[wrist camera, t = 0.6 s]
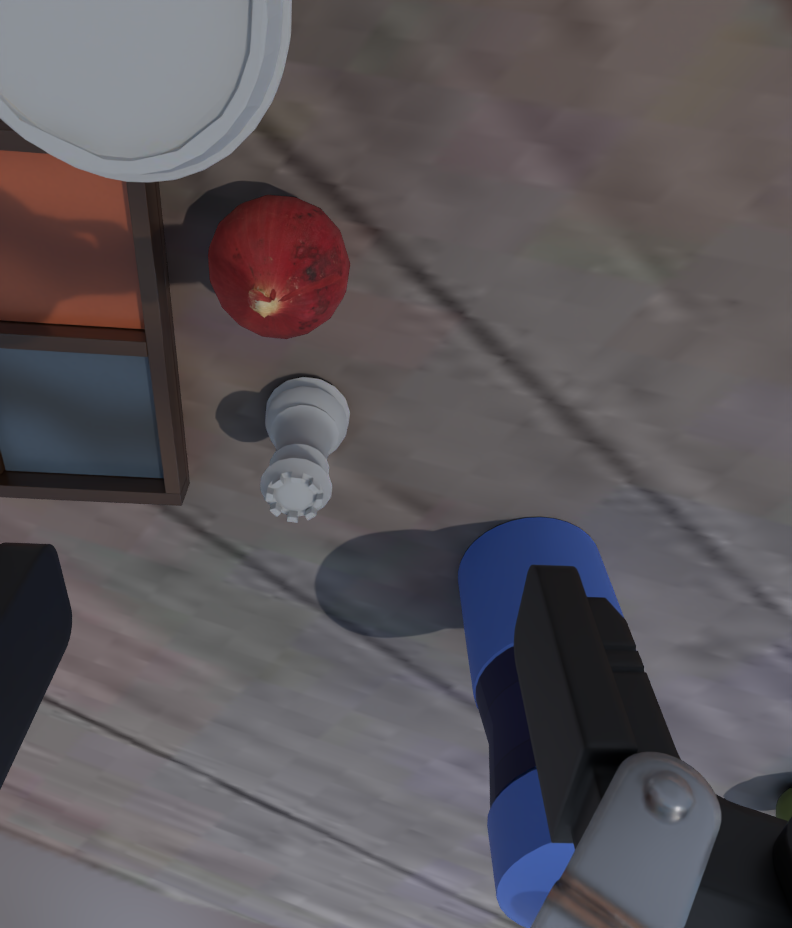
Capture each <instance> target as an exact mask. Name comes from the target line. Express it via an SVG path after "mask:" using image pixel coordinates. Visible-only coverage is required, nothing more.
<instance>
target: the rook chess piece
mask: <svg viewBox="0 0 792 928" xmlns="http://www.w3.org/2000/svg"><path fill="white" fill-rule="evenodd" d="M349 417H350V411H349V408H348V405H347V402H346V399H345V398H344V396H343V395H342V394H341V393H340V392H339V391H338V390H337V388H336V387H334V386H332V385H330V384H329V383H327V382H325V381H323V380H321V379H315V378H307V377H301V378H296V379H292V380H288V381H286V382H284V383H283V384H281V385H280V386H279V387H277V388H276V389H274V391H273V392H272V394H271V396H270V398H269V399H268V401H267V407H266V418H265V426H266V430H267V432H268V435H269V437H270V440H271V442H272V443H273V444H274V445H275V447H276V452H275V453H274V455H273V457H272V458H271V460H270V466H269V467H268V468H267V469H266V471H265V472H264V474H263V476H262V477H261V487H260V489H261V492H262V494H263V496H264V499H265V500H266V502H268V503H269V504H270V505H271V506H270V511H271V512H272V513H273V514H274V515H275V516H276V517H277V516H279V515H280V514H281V512H282V513H284V514H286V515H288V517H287V522H297V523H298V516H303V515H305V517H306V518H307V520H310V519H311V518H313V517H315V516H316V515H317V511H318V510H320V509H321V508H323V507H324V506H325V505H326V503H327V502H328V501H329V499H330V498H331V493H332V483H331V481H330V478H329V475H328V474H329V465H328V462H327V457H328V455H329V454H331V453H332V452H333V451H335V450H336V449H337V448H338V446H339V445H340V443H341V442H342V441H343V439H344V438H345V436H346V433H347V428H348V424H349Z"/></svg>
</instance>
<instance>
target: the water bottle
mask: <svg viewBox="0 0 792 928" xmlns="http://www.w3.org/2000/svg"><path fill="white" fill-rule="evenodd" d="M531 565H558V566H574V567H575V568H576V569H577V570H578V573H579V575H580V578H581V581H582V584H583V587H584V590H585V593H586V596H587V597H605V598H606V599H607V600H608V601H609V602H610V603H611V604H612V605H613V607H614V608H615V609H616V610H617V611H618V612H619V613H620V614H621V615H622V617H623V618H624V616H623V614H622V611H621V608H620V606H619V603H618V601H617V598H616V595H615V593H614V590H613V587H612V585H611V582H610V580H609V577H608V574H607V572H606V569H605V566H604V564H603V561H602V559H601V556H600V553H599V551H598V549H597V546H596V544H595V543H594V541H593V540H592V539H591V538H590V536H589V535H588V534H586V533H585V532H584V531H583V530H581V529H580V528H579V527H577V526H575V525H572V524H570V523H568V522H565V521H562V520H558V519H554V518H544V517H534V518H523V519H518V520H513V521H510V522H507V523H504V524H501V525H499V526H496V527H495V528H493V529H491V530H489V531H488V532H486V533H484V534H483V535H482V536H481V537H479V538H478V539H477V540H476V541H474V543H473V544H472V545H471V546H470V547H469V548H468V550H467V551H466V552H465V554H464V556H463V558H462V560H461V562H460V566H459V570H458V585H459V592H460V600H461V607H462V615H463V622H464V630H465V637H466V645H467V652H468V659H469V666H470V673H471V680H472V687H473V694H474V699H475V702H476V706H477V708H478V709H479V713H480V716H481V719H482V723H483V726H484V729H485V733H486V736H487V739H488V743H489V769H490V811H489V814H488V825H487V827H488V834H489V842H490V850H491V858H492V865H493V873H494V881H495V888H496V896H497V900H498V903H499V906H500V908H501V909H502V911H503V912H504V913H505V914H506V915H507V916H508V917H509V918H510V919H512V920H513V921H515V922H516V923H517V924H519V925H521V926H524V927H526V928H530V927H531V926H532V924H533V922H534V920H535V918H536V916H537V914H538V912H539V911H540V909H541V907H542V905H543V903H544V901H545V899H546V897H547V896H548V894H549V892H550V890H551V889H552V887H553V885H554V884H555V882H556V881H557V880H559V879H560V877H561V876H562V874H563V872H564V870H565V868H566V867H567V865H568V863H569V861H570V859H571V857H572V855H573V853H574V851H575V848H574V844H573V843H551V838H550V833H549V828H548V823H547V818H546V813H545V808H544V803H543V798H542V793H541V788H540V783H539V778H538V773H537V768H536V763H535V758H534V753H533V748H532V743H531V738H530V733H529V728H528V723H527V719H526V714H525V709H524V704H523V699H522V694H521V689H520V684H519V679H518V674H517V669H516V664H515V657H514V631H515V625H516V620H517V616H518V612H519V607H520V603H521V599H522V594H523V590H524V585H525V581H526V577H527V573H528V570H529V567H530V566H531Z"/></svg>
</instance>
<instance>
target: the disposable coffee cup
mask: <svg viewBox="0 0 792 928" xmlns="http://www.w3.org/2000/svg"><path fill="white" fill-rule="evenodd" d="M291 12H292V0H0V119H1V120H2V121H3V122H5V123H6V124H7V125H8V126H9V127H11V128H12V129H13V130H14V131H16V132H17V133H18V134H19V135H20V136H22V137H23V138H24V139H25V140H27V141H29V142H31V143H32V144H34V145H36V146H38V147H39V148H41V149H43V150H44V151H46V152H47V153H49V154H50V155H52V156H54V157H56V158H58V159H60V160H62V161H64V162H66V163H68V164H69V165H71V166H73V167H75V168H78V169H81V170H84V171H87V172H90V173H93V174H96V175H99V176H102V177H105V178H110V179H115V180H121V181H126V182H158V181H167V180H176V179H179V178H182V177H185V176H188V175H191V174H194V173H197V172H199V171H202V170H205V169H206V168H208V167H210V166H211V165H213V164H215V163H216V162H218V161H220V160H221V159H223V158H225V157H226V156H228V155H230V154H231V153H232V152H233V151H234V150H235V149H236V148H237V147H238V146H239V145H240V144H241V143H242V142H243V141H244V140H245V139H246V138H247V137H248V136H249V135H250V134H251V133H252V132H253V131H254V130H255V129H256V127H257V125H258V124H259V122H260V121H261V119H262V117H263V116H264V114H265V112H266V111H267V109H268V108H269V106H270V104H271V103H272V101H273V99H274V96H275V94H276V92H277V89H278V87H279V84H280V81H281V78H282V75H283V72H284V68H285V63H286V59H287V54H288V49H289V45H290V38H291Z"/></svg>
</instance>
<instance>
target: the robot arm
mask: <svg viewBox="0 0 792 928" xmlns="http://www.w3.org/2000/svg"><path fill="white" fill-rule="evenodd" d="M71 628H72V610H71V606H70V602H69V598H68V594H67V590H66V586H65V582H64V578H63V574H62V570H61V566H60V562H59V558H58V554H57V551H56V549H55V548H54V546H52V545H50V544H30V543H2V544H0V789H1V787H2V785H3V782H4V780H5V778H6V776H7V774H8V772H9V770H10V767H11V765H12V763H13V761H14V759H15V757H16V755H17V752H18V750H19V748H20V746H21V744H22V742H23V740H24V738H25V735H26V733H27V731H28V729H29V727H30V725H31V723H32V720H33V718H34V716H35V714H36V712H37V710H38V708H39V705H40V703H41V701H42V699H43V697H44V695H45V693H46V690H47V688H48V686H49V684H50V682H51V680H52V678H53V675H54V673H55V671H56V669H57V667H58V665H59V663H60V661H61V658H62V656H63V654H64V652H65V650H66V648H67V645H68V642H69V639H70V634H71ZM514 657H515V664H516V669H517V674H518V679H519V684H520V689H521V694H522V699H523V704H524V709H525V714H526V719H527V723H528V728H529V733H530V738H531V743H532V748H533V753H534V758H535V763H536V768H537V773H538V778H539V783H540V788H541V793H542V798H543V803H544V808H545V813H546V818H547V823H548V828H549V833H550V838H551V843H573V844H574V848H575V851H574V853H573V855H572V857H571V859H570V861H569V863H568V865H567V867H566V868H565V870H564V872H563V874H562V876H561V877H560V879H559V880H557V881H556V882H555V884H554V885H553V887H552V889H551V890H550V892H549V894H548V896H547V897H546V899H545V901H544V903H543V905H542V907H541V909H540V911H539V912H538V914H537V916H536V918H535V920H534V922H533V924H532V926H531V927H530V928H792V817H791V818H790V820H789V821H786V820H783V819H780V818H777V817H774V816H771V815H768V814H765V813H762V812H759V811H756V810H753V809H750V808H746V807H743V806H740V805H738V804H735V803H732V802H730V801H728V800H726V799H724V798H722V797H720V796H718V795H716V794H715V793H714V791H713V789H712V787H711V786H710V785H709V783H708V782H707V781H706V779H705V778H704V777H703V776H702V775H701V774H700V773H699V772H698V771H696V770H695V769H694V768H693V767H692V766H690V765H688V764H687V763H685V762H684V761H682V760H681V759H680V757H679V755H678V753H677V750H676V748H675V745H674V743H673V740H672V738H671V735H670V732H669V730H668V727H667V725H666V722H665V720H664V717H663V714H662V712H661V709H660V707H659V704H658V702H657V699H656V696H655V694H654V691H653V689H652V686H651V684H650V681H649V678H648V676H647V673H644V666H643V663H642V660H641V658H640V655H639V653H638V651H636V645H635V642H634V640H633V637H632V635H631V632H630V629H629V627H628V624H627V622H626V620H625V619H624V618H623V617H622V615H621V614H620V613H619V612H618V611H617V610H616V609H615V608H614V607H613V605H612V604H611V603H610V602H609V601H608V600H607V599H606V598H605V597H587V596H586V593H585V590H584V587H583V584H582V581H581V578H580V575H579V573H578V570H577V569H576V568H575V567H574V566H558V565H531V566H530V567H529V570H528V573H527V577H526V581H525V585H524V590H523V594H522V599H521V603H520V607H519V612H518V616H517V620H516V625H515V631H514Z"/></svg>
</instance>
